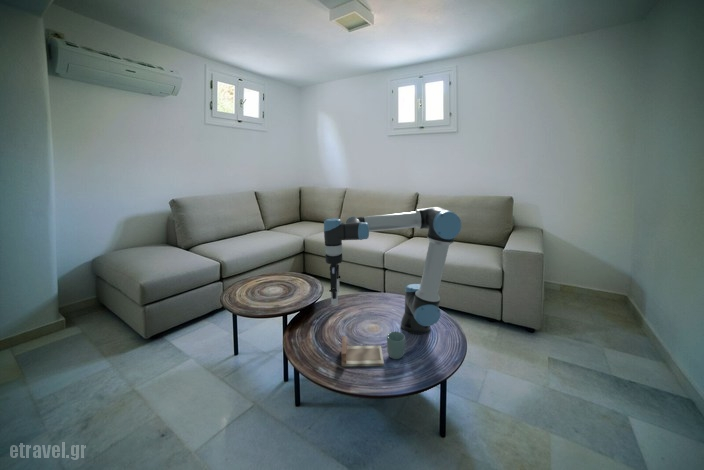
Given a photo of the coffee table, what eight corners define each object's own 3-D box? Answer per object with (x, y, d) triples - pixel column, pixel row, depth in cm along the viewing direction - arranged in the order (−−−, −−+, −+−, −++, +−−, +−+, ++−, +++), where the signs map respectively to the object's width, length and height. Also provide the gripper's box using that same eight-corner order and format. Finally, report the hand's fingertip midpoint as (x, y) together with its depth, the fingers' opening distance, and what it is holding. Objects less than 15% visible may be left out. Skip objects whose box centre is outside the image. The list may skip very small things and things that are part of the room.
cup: (394, 348, 141) (394, 329, 138) (407, 356, 135) (408, 336, 133) (383, 356, 135) (383, 336, 133) (397, 364, 130) (397, 343, 128)
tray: (380, 347, 142) (381, 335, 140) (383, 365, 129) (383, 353, 127) (342, 348, 142) (342, 336, 140) (341, 366, 129) (341, 353, 128)
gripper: (327, 246, 146) (330, 287, 151) (322, 262, 122) (324, 310, 126) (343, 245, 146) (344, 286, 150) (340, 262, 121) (342, 310, 126)
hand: (335, 297), depth 138 cm, fingers open, 13 cm apart
